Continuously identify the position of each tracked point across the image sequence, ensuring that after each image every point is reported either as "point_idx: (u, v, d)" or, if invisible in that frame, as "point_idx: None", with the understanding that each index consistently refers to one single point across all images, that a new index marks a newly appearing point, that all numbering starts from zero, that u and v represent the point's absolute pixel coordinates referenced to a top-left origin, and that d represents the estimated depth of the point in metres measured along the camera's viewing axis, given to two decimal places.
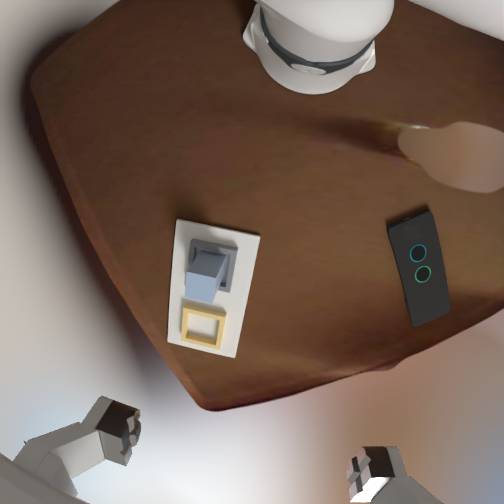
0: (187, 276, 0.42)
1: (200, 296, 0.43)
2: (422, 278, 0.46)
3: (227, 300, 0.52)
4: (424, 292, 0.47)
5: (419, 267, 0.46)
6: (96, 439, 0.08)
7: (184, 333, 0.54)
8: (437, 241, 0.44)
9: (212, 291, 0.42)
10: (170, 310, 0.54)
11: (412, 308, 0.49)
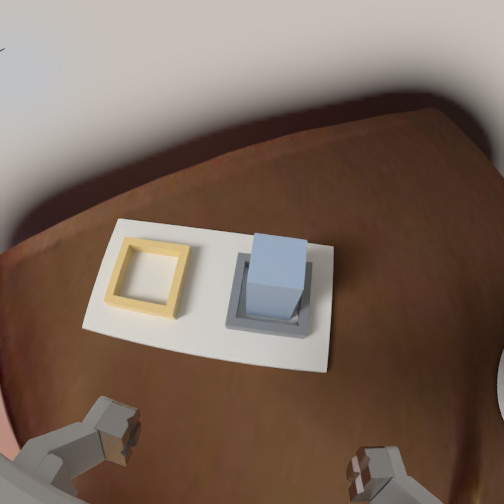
0: (298, 240, 0.24)
1: (259, 260, 0.23)
2: None
3: (202, 322, 0.29)
4: None
5: None
6: (96, 439, 0.08)
7: (138, 243, 0.31)
8: None
9: (274, 283, 0.22)
10: (177, 227, 0.33)
11: None
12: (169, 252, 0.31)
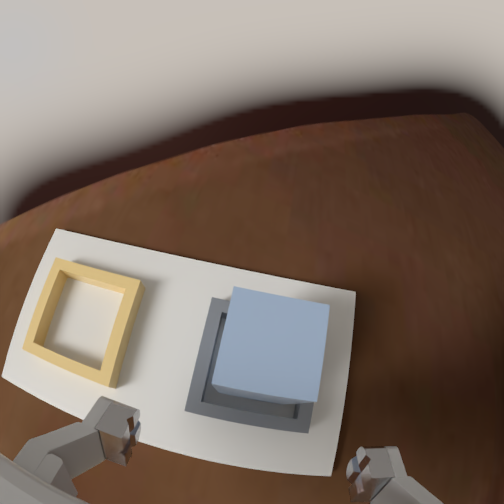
0: (313, 305, 0.13)
1: (239, 342, 0.12)
2: None
3: (153, 398, 0.17)
4: None
5: None
6: (96, 439, 0.08)
7: (71, 269, 0.19)
8: None
9: (262, 388, 0.11)
10: (129, 248, 0.22)
11: None
12: (112, 287, 0.20)
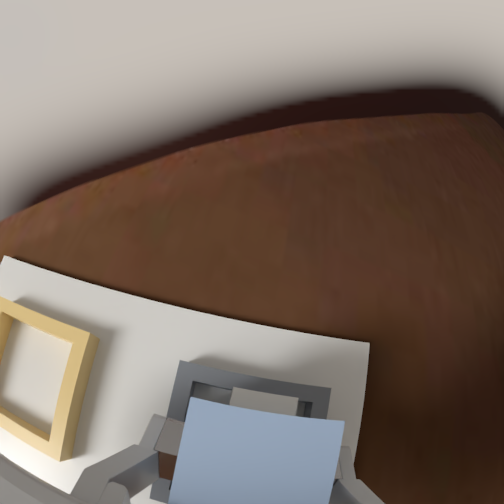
0: (318, 424, 0.07)
1: (200, 483, 0.06)
2: None
3: None
4: None
5: None
6: (155, 460, 0.08)
7: (13, 312, 0.14)
8: None
9: None
10: (82, 285, 0.16)
11: None
12: (59, 337, 0.14)
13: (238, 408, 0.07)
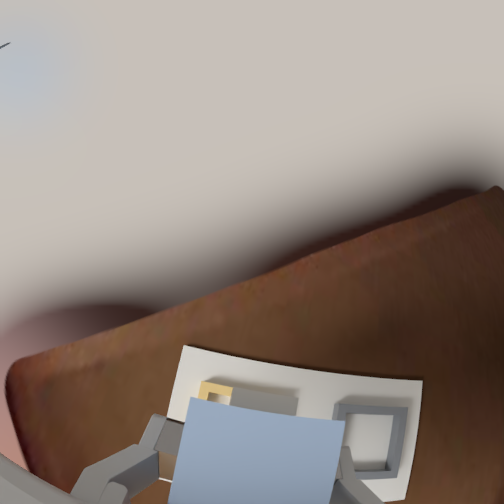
0: (319, 424, 0.07)
1: (200, 483, 0.06)
2: None
3: None
4: None
5: None
6: (155, 460, 0.08)
7: (221, 391, 0.24)
8: None
9: None
10: (263, 365, 0.27)
11: None
12: None
13: (238, 408, 0.07)
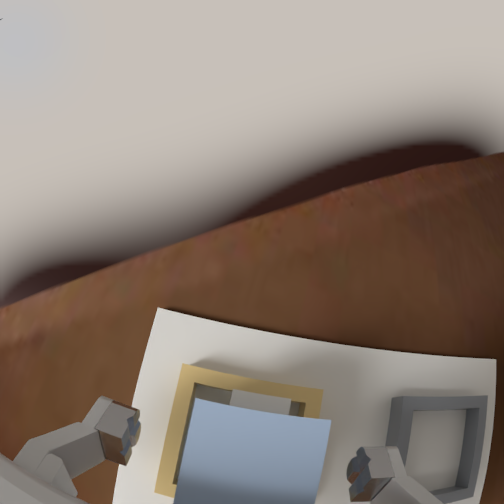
0: (308, 422, 0.08)
1: (204, 473, 0.07)
2: None
3: None
4: None
5: None
6: (96, 439, 0.08)
7: (215, 382, 0.14)
8: None
9: None
10: (284, 339, 0.17)
11: None
12: None
13: (237, 408, 0.08)
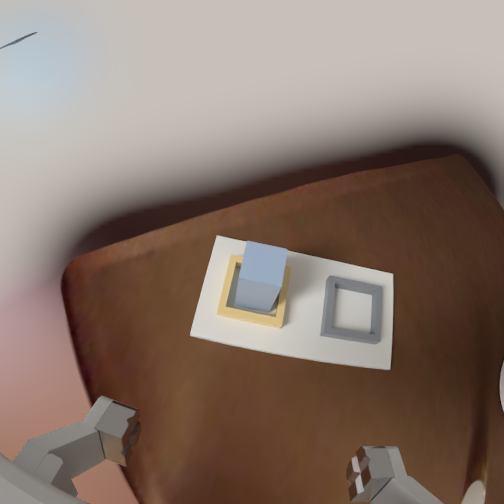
0: (280, 249, 0.31)
1: (249, 262, 0.30)
2: None
3: (301, 331, 0.35)
4: None
5: None
6: (96, 439, 0.08)
7: None
8: None
9: (259, 280, 0.29)
10: None
11: None
12: None
13: (259, 243, 0.31)
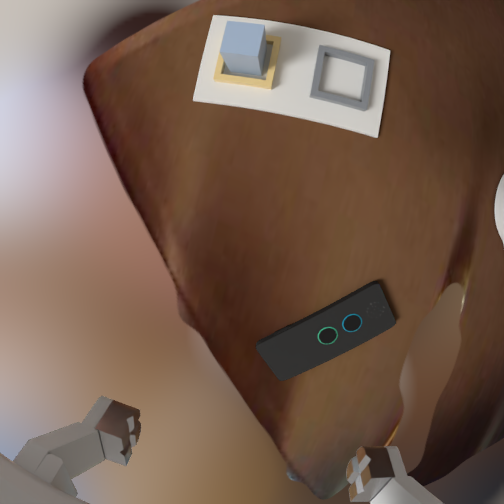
0: (257, 25, 0.26)
1: (229, 38, 0.27)
2: (322, 336, 0.44)
3: (291, 92, 0.35)
4: (304, 344, 0.44)
5: (335, 329, 0.43)
6: (96, 439, 0.08)
7: None
8: (364, 340, 0.44)
9: (237, 52, 0.27)
10: (267, 22, 0.33)
11: (282, 337, 0.44)
12: None
13: (238, 22, 0.26)
